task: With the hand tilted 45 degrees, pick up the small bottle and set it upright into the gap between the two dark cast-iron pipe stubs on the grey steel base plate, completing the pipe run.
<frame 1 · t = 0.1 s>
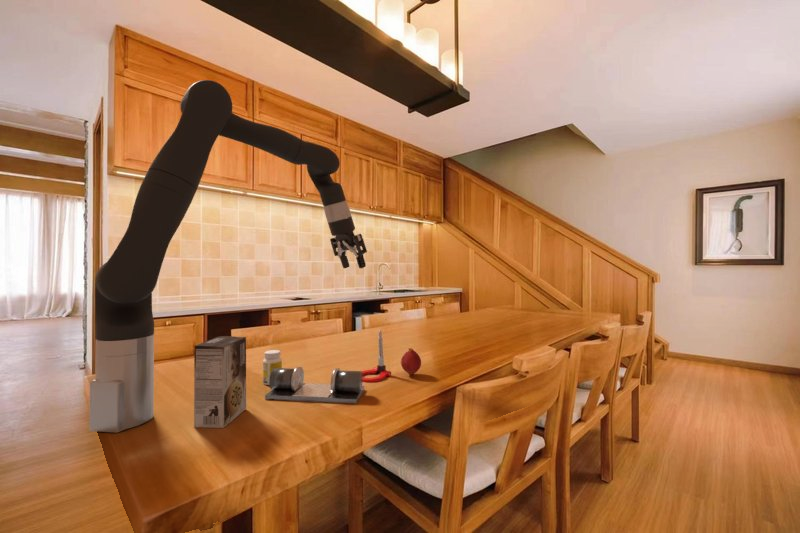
hand: (354, 267, 108), 31 cm above the table, tool tilted 20°, fingers open, 8 cm apart
onion: (411, 375, 99), on the table
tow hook: (372, 378, 98), on the table
coffee box: (221, 418, 71), on the table
pipe run: (316, 394, 84), on the table
supplement bottle: (272, 383, 93), on the table
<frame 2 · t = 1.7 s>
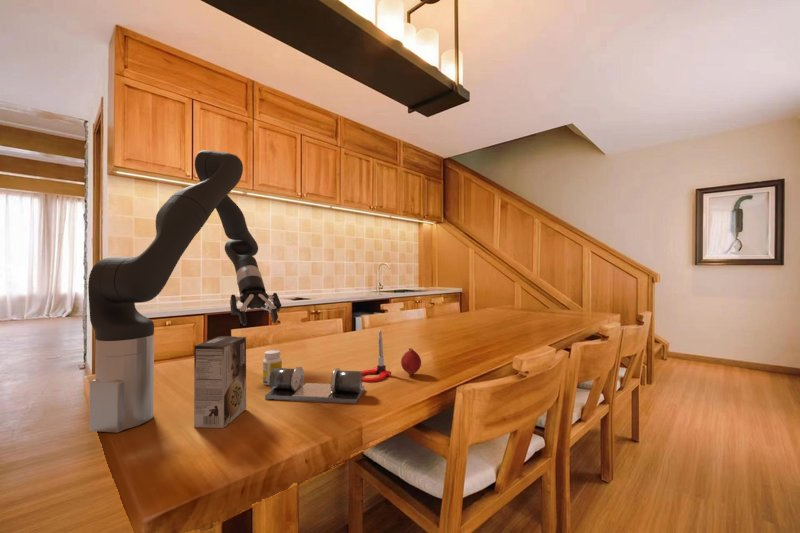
hand: (260, 322, 102), 15 cm above the table, tool tilted 45°, fingers open, 8 cm apart
nothing on the table moved.
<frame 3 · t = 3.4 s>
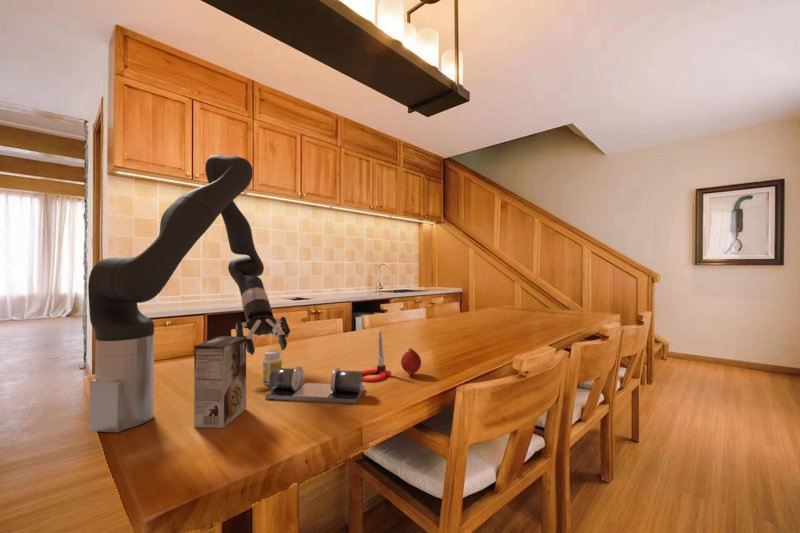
hand: (268, 350, 95), 8 cm above the table, tool tilted 45°, fingers open, 8 cm apart
nothing on the table moved.
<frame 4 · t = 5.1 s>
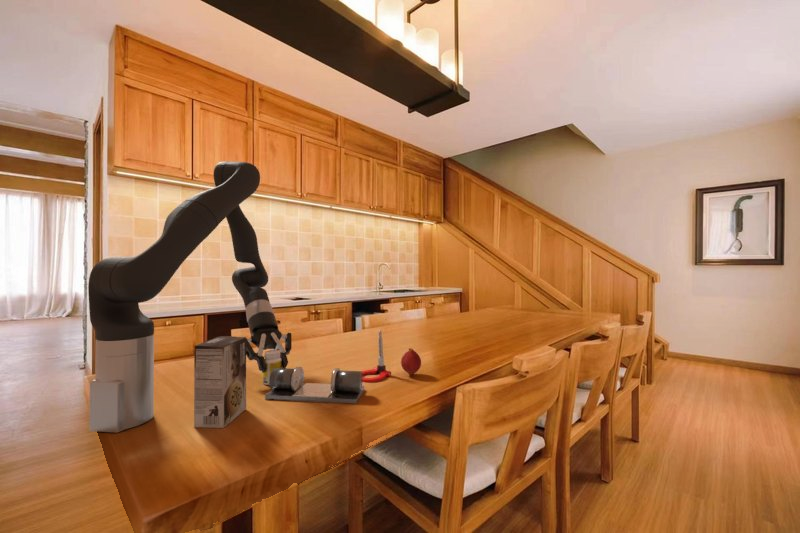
hand: (274, 368, 91), 4 cm above the table, tool tilted 45°, fingers closed on supplement bottle, 4 cm apart
supplement bottle: (272, 383, 93), on the table, touching gripper
everything else where it was.
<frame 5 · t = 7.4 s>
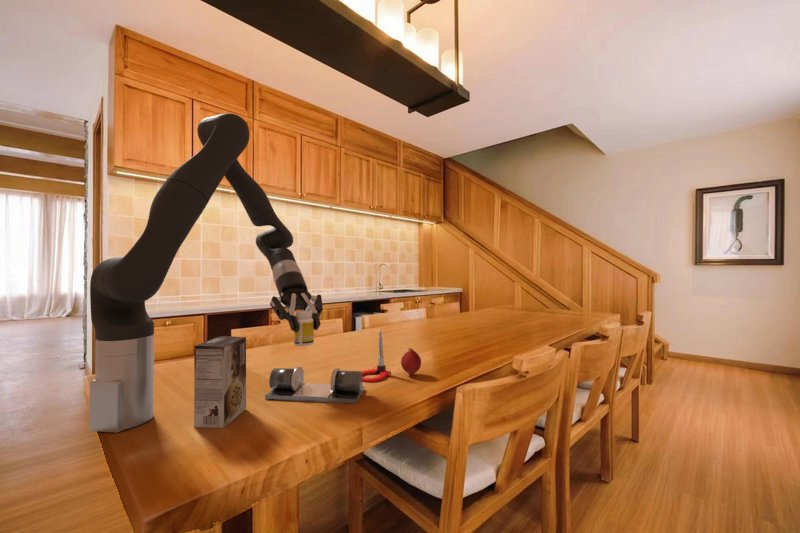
hand: (307, 329, 85), 16 cm above the table, tool tilted 45°, fingers closed on supplement bottle, 4 cm apart
supplement bottle: (303, 345, 87), point 11 cm above the table, touching gripper
everything else where it was.
when the fingers open (7 cm above the table, at t = 9.9 s): supplement bottle drops 1 cm, resting on pipe run.
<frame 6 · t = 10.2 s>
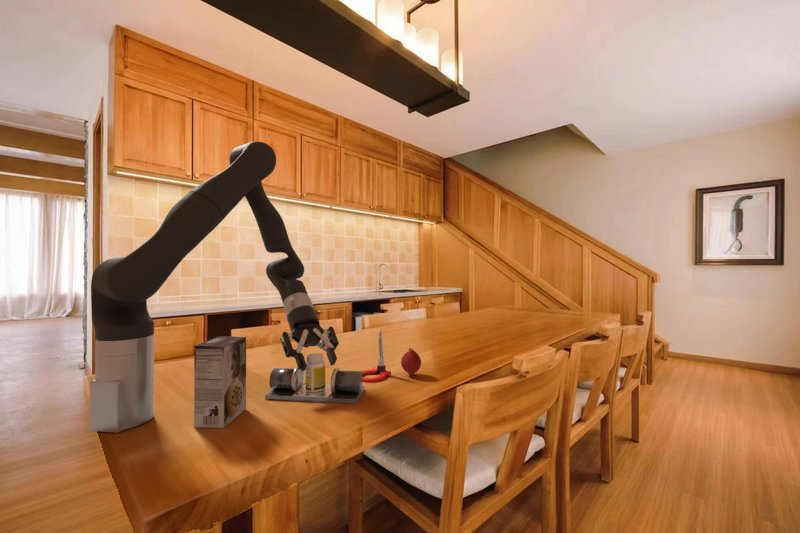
hand: (319, 366, 83), 7 cm above the table, tool tilted 45°, fingers open, 7 cm apart
supplement bottle: (315, 390, 84), point 1 cm above the table, touching pipe run
everything else where it was.
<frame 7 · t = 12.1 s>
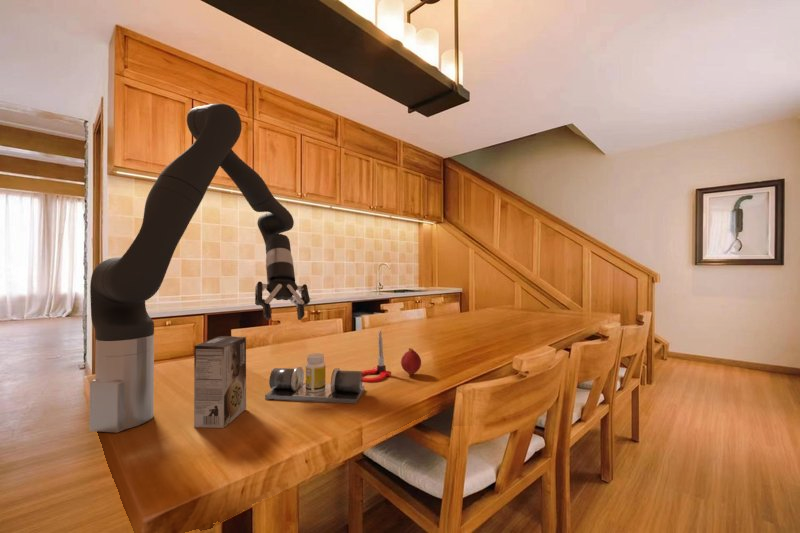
hand: (285, 318, 91), 18 cm above the table, tool tilted 30°, fingers open, 8 cm apart
nothing on the table moved.
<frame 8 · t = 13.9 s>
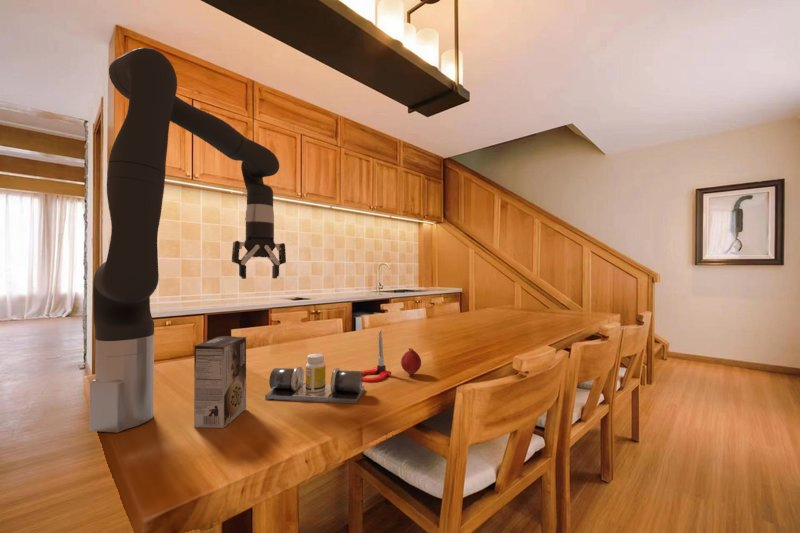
hand: (259, 278, 97), 28 cm above the table, tool pointing down, fingers open, 8 cm apart
nothing on the table moved.
at the end: supplement bottle inside the target area on the pipe run (0.3 cm from its centre), point 1.0 cm above the pipe run's base; supplement bottle tilted 0°; the gripper is holding nothing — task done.
